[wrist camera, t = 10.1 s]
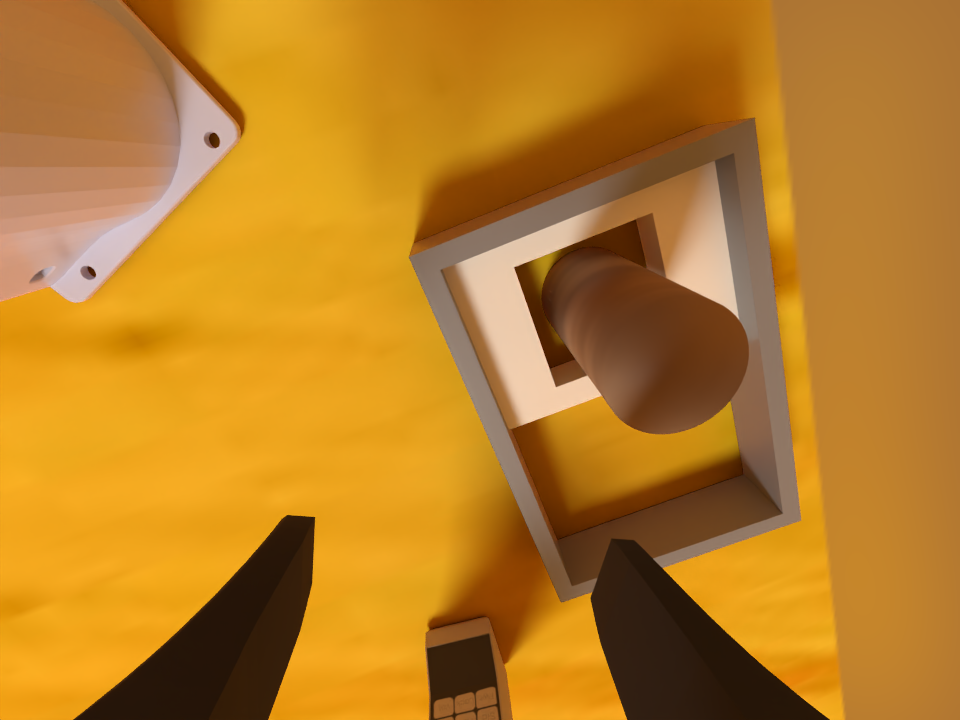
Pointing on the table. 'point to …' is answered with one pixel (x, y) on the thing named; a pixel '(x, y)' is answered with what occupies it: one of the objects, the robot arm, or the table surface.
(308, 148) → the table surface
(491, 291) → the grey tray
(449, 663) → the vintage mobile phone
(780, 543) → the table surface
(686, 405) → the walnut peg
